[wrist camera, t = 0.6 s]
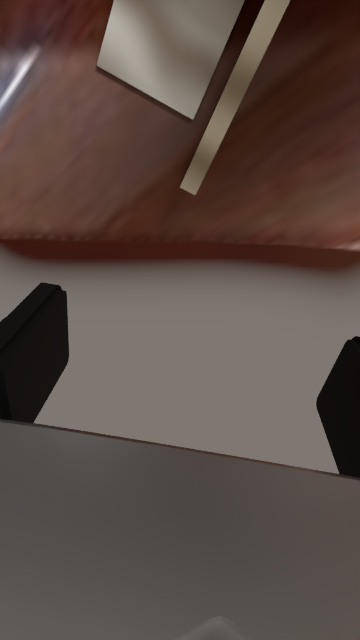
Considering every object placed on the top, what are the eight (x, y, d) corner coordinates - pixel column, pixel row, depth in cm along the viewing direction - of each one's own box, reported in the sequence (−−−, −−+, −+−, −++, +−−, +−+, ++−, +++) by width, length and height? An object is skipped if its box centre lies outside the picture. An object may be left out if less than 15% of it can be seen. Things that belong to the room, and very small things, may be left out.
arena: (88, -180, 24) (54, -257, 19) (301, -33, 27) (322, -65, 22) (34, 96, 33) (2, 94, 28) (198, 183, 36) (195, 195, 31)
